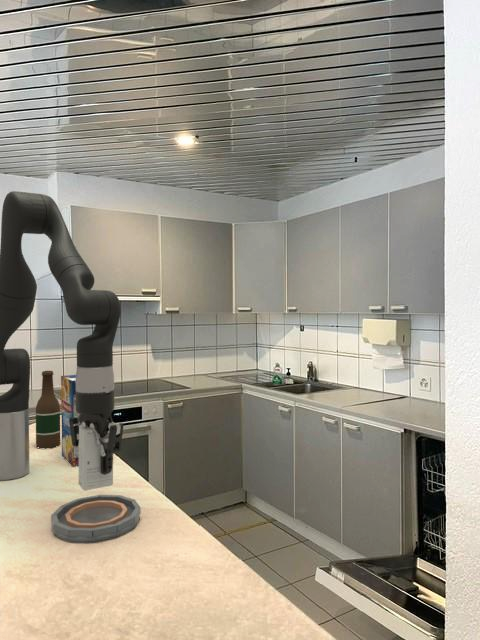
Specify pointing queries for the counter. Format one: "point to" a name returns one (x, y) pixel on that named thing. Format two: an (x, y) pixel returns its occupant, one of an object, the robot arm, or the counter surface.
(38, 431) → the beer bottle
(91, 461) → the skincare box
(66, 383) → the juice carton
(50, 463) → the counter surface
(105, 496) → the ring tray
